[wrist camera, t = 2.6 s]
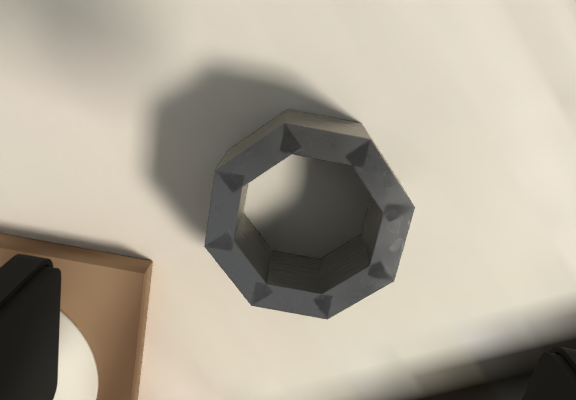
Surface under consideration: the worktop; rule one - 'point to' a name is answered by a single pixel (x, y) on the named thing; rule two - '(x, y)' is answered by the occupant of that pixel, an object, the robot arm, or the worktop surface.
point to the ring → (293, 268)
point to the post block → (95, 318)
